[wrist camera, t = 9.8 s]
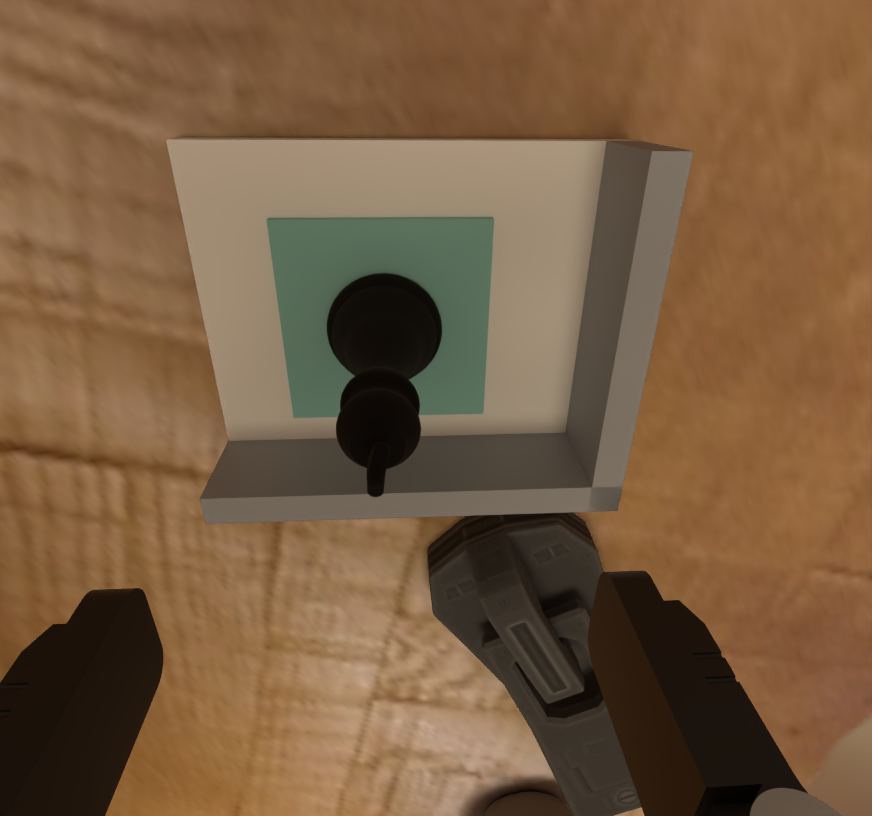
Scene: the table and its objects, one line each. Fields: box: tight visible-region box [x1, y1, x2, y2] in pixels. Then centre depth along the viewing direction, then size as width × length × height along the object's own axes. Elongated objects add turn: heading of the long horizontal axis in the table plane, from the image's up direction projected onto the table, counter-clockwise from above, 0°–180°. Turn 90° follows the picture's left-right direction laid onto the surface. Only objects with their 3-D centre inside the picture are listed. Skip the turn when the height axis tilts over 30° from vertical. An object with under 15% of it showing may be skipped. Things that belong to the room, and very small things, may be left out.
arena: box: [166, 137, 694, 524], centre depth 21 cm, size 16×13×5 cm
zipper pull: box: [427, 512, 642, 816], centre depth 31 cm, size 9×7×25 cm
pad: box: [266, 217, 494, 418], centre depth 22 cm, size 8×8×1 cm
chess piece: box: [327, 273, 442, 497], centre depth 17 cm, size 4×4×10 cm
